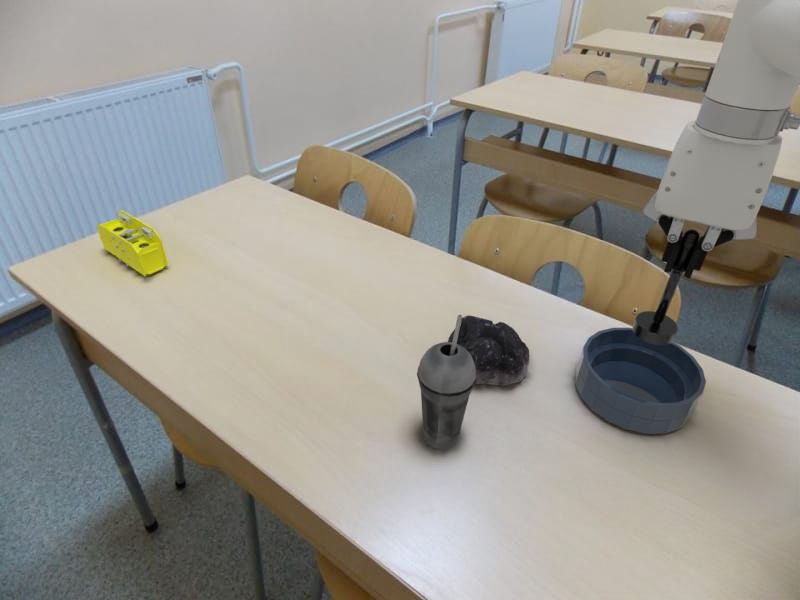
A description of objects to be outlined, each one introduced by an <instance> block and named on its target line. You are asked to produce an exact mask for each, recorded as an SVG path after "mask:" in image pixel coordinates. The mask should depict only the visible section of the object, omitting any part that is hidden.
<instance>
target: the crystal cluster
mask: <svg viewBox="0 0 800 600" xmlns="http://www.w3.org/2000/svg"><path fill="white" fill-rule="evenodd" d="M454 331H455V328H454V329H453V330H452V332H451V333H450V335H449V337H448V339H447V342H452V341H453V336H454ZM457 344H458V345H460V346H462V347H463V348H465V349H466V350H467V351H468V352H469V353H470V355H471V356H472V359H473V361H474V364H475V368H476V383H475V385H476V384H477V385H482V384H484V385H490V386H491V385H492V386H501V387H504V386H508V385H512V384H517V383H519V382H521V381H522V380H523V379H524V378H525V377H526V376H527V374H528V366H529V365H530V364H529V363H530V350H529V347H528V346H527V344H526V343H525V342H524V341H523V340H522V338H521V337H520V335H519V334H518V332H517V331H516V330H515V329H514V328H513V327H512V326H510V325H509V324H507V323H505V322H503V321H498V322H497V323H494V322H493V320H490V319H487V318H482V317H478V316H475V315H466V316H462V320H461V325H460V329H459V334H458V339H457Z"/></svg>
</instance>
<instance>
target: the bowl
mask: <svg viewBox="0 0 800 600" xmlns="http://www.w3.org/2000/svg"><path fill="white" fill-rule="evenodd" d="M704 373H705V372H704V369H703V367H702V366H701V365H700V363H699V362H698V361H697V359H696V358H695V357H694V356H693V355H692V354H691V353H690V352H688V351H687V349H685V348H684V347H682V346H681V345H680V344H678V343H677V342H674V341H672V342H671V343H670V344H668V345H664V346H658V345H652V344H649V343H646V342H644V341H642V340H641V339H639V338H638V337H637V336H636V335H635V334H634V332H633V329H632V327H610V328H606V329H602V330H599V331H597V332H595V333H594V334H592V335H590V336H589V337H588V338H587V339H586V341H585V343H584V345H583V347H582V350H581V353H580V357H579V361H578V364H577V367H576V370H575V379H574V381H575V387H576V389H577V391H578V394H579V396H580V398H581V399H582V400H583V402H584V403H585V404H586V405H587V406H588V407H589V408H590V410H591V411H593V412H594V413H595V414H597V415H598V416H600V417H601V418H603V419H604V420H605V421H607V422H608V423H611V424H613V425H614V426H615V425H616V426H618V427H620V428H622V429H624V430H627V431H632V432H636V433H642V434H647V435H648V434H649V435H650V434H655V435H656V434H657V435H658V434H668V433H670V432H674V431H676V430H679V429H681V428H682V427H683V426H685V424H686V423H688V422H689V421H690V419H691V417H692V416H693V413H694V411H695V410H696V407H697V406H698V404H699V403H700V400H701V399H702V397H703V395H704V391H705V388H706V385H707V384H706V383H707V380H706V376H705V374H704Z"/></svg>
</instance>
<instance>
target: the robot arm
mask: <svg viewBox="0 0 800 600" xmlns="http://www.w3.org/2000/svg"><path fill="white" fill-rule="evenodd" d="M715 62H716V63H715V65H714V68H713V70H712V74H711V76H710V79H709V82H708V85H707V88H706V90H705V94H704V97H703V99H702V102H701V104H700V108H699V111H698V113H697V115H696V119H695V120H690V121H688V122H687V123H686V124H685V126H684V128H683V130H682V131H681V133H680V135H679V137H678V139H677V141H676V143H675V145H674V148H673V150H672V152H671V154H670V157H669V160H668V162H667V165H666V167H665V169H664V172H663V175H662V177H661V180H660V183H659V186H658V188H657V191H656V192H655V193H654V194H653V196H652V197H651V198H650V199H649V200H648V202H647V203H646V204H645V205H644V207H643V210H642V214H644V215H645V216H646V217H648V218H649V219H650V220H652V221H654V222H656V223H658V225H659V226H660V228H661V230H662V231H663V232H664V234H665V236H666V238H667V243H666V246H665V248H664V251H663V254H662V257H661V259H660V261H661V262H663V263H665V266H664V270H663V272H664V273H667V274H669V273H671V272H672V267H673V265H674V262H675V260H676V257H677V255H678V252H679V250H680V247H681V243H682V239H683V236H684V233H683V231H682V230H683V227H684V224H685V221H687V222H692V223H697V224H701V225H705V226H707V227H706V229H705V231H704V234H703V235H702V236H699V239H698V242H697V244H696V246H695V248H694V251H693V253H692V256H691V258H690V260H689V263H688V265H687V268H686V270H685V272H684V273H683V276H684V278H686V279H691V277H692V275H693V273H694V271H698V272H700V271H701V269H702V266H703V264H704V263H705V259H706V257H707V255H708V252H710V251H712V250H713V249H714V248H715V247H718V246H720V245H723V244H725V243H728V242H730V241H733V240H735V241H741V240H753V239H755V238H756V237H757V235H758V234H757V233H758V232H757V231H758V227H757V226H758V224H757V221H758V220H757V215H758V213H759V212H760V209H761V206H762V204H763V201H764V200H765V197H766V193H767V191H768V189H769V186H770V183H771V181H772V177H773V175H774V172H775V168H776V165H777V162H778V160H779V156H780V152H781V147H782V143H783V137H782V136H781V135H779V134H780V132H781V133H782V132H784V130H789V129H791V130H796V131H797V130H798V129H799V127H800V114H796V112H792V110H791V108H790V106H791V104H792V102H793V100H794V98H795V95H796V93H797V91H798V89H799V87H800V0H737V2H736V5H735V9H734V11H733V14H732V17H731V20H730V22H729V26H728V28H727V31H726V34H725V37H724V38H723V43H722V45H721V48H720V51H719V53H718V56H717V60H716V61H715Z"/></svg>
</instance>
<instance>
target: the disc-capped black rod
mask: <svg viewBox="0 0 800 600" xmlns="http://www.w3.org/2000/svg"><path fill="white" fill-rule="evenodd" d="M682 237H683V239H682V243H681V247H680V250H679V252H678V255H677V257H676V260H675V262H674V265H673V267H672V270H671V272H670V275H669V277H668V280H667V282H666V285H665V287H664V290H663V292H662V295H661V298H660V300H659V302H658V305H657V308H656V310H655V311H651V310H647V311H646V310H645V311H641V312H639V313H638V314H637V315H636V316H635V319H634V321H633V324H632V327H631V328H632V329H633V332H634V334H635V335H636V336H637V337H638V338H639V339H641V340H642V341H644V342H646V343H649V344H652V345H658V346H664V345H668V344H670V343H671V342H674V340H675V337H676V335H677V333H678V329H679V327H678V324H677V322H676V321H675V320H674V319H672V318H671V316H668V315H667V313H668V310H669V307H670V305H671V303H672V301H673V298H674V295H675V293H676V290H677V288H678V285H679V283H680V281H681V278H682V276H683V274H684V273H685V270H686V268H687V265H688V263H689V260H690V258H691V256H692V253H693V251H694V248H695V246H696V244H697V242H698V240H699V238H700V237H701V236H700V232H699V231H698V230H697V229H694V228H689V229H687V230H685V232H684V233H683V235H682Z"/></svg>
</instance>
